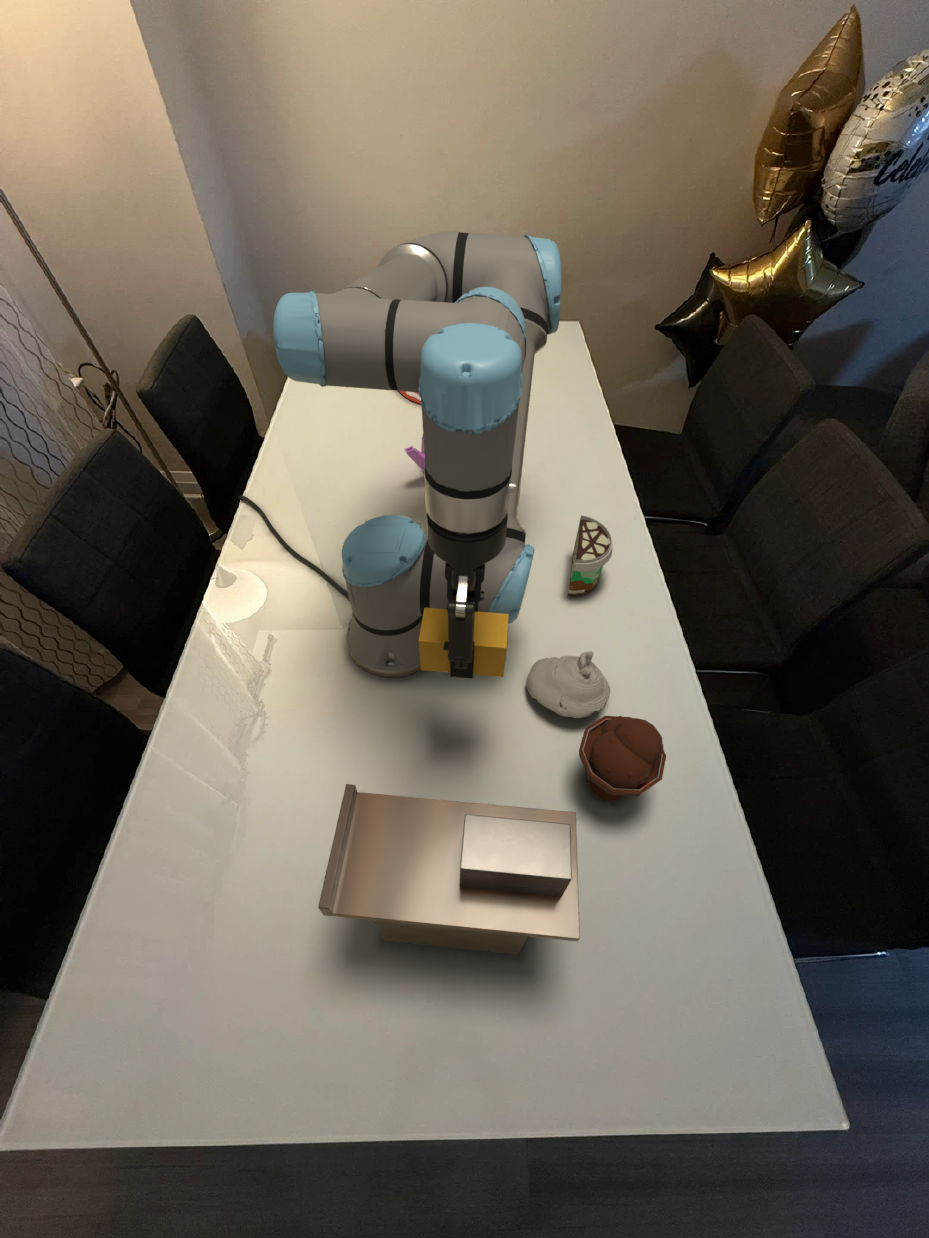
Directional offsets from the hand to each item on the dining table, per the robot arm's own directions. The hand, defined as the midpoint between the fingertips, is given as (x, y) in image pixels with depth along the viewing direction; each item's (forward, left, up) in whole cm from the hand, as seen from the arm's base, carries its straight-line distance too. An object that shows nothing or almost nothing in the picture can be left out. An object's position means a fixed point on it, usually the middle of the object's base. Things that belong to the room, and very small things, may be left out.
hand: (463, 655), depth 71 cm
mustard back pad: (0, 0, 0) cm, 0 cm away
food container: (-6, +38, -20) cm, 43 cm away
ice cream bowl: (+20, +9, -20) cm, 29 cm away
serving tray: (+16, -17, -19) cm, 30 cm away
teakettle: (-45, +42, -20) cm, 64 cm away
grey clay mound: (+7, +16, -20) cm, 26 cm away
